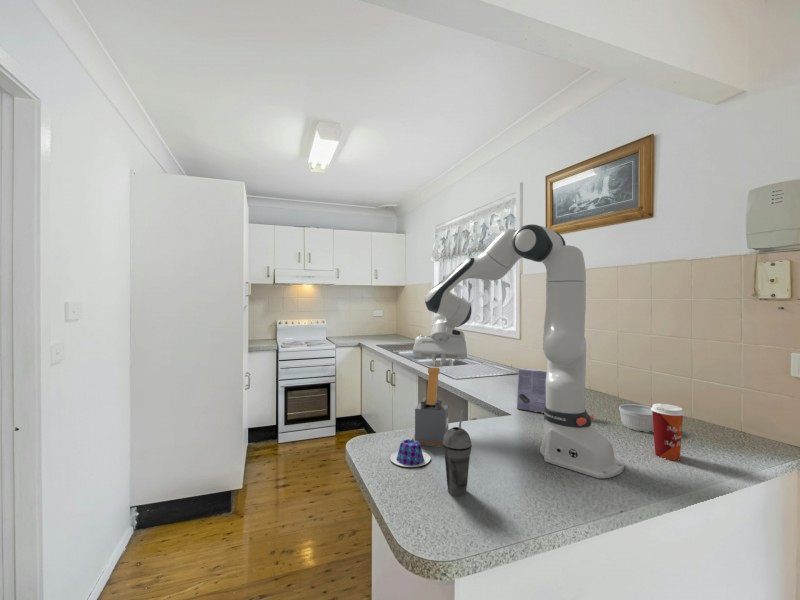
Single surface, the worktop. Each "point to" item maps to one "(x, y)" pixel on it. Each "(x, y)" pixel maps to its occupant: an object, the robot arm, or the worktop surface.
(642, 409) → the ramekin
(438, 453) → the worktop surface
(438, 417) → the box
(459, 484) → the beverage cup
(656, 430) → the coffee cup
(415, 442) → the pudding
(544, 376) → the cake pan box
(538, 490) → the worktop surface
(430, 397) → the lever
